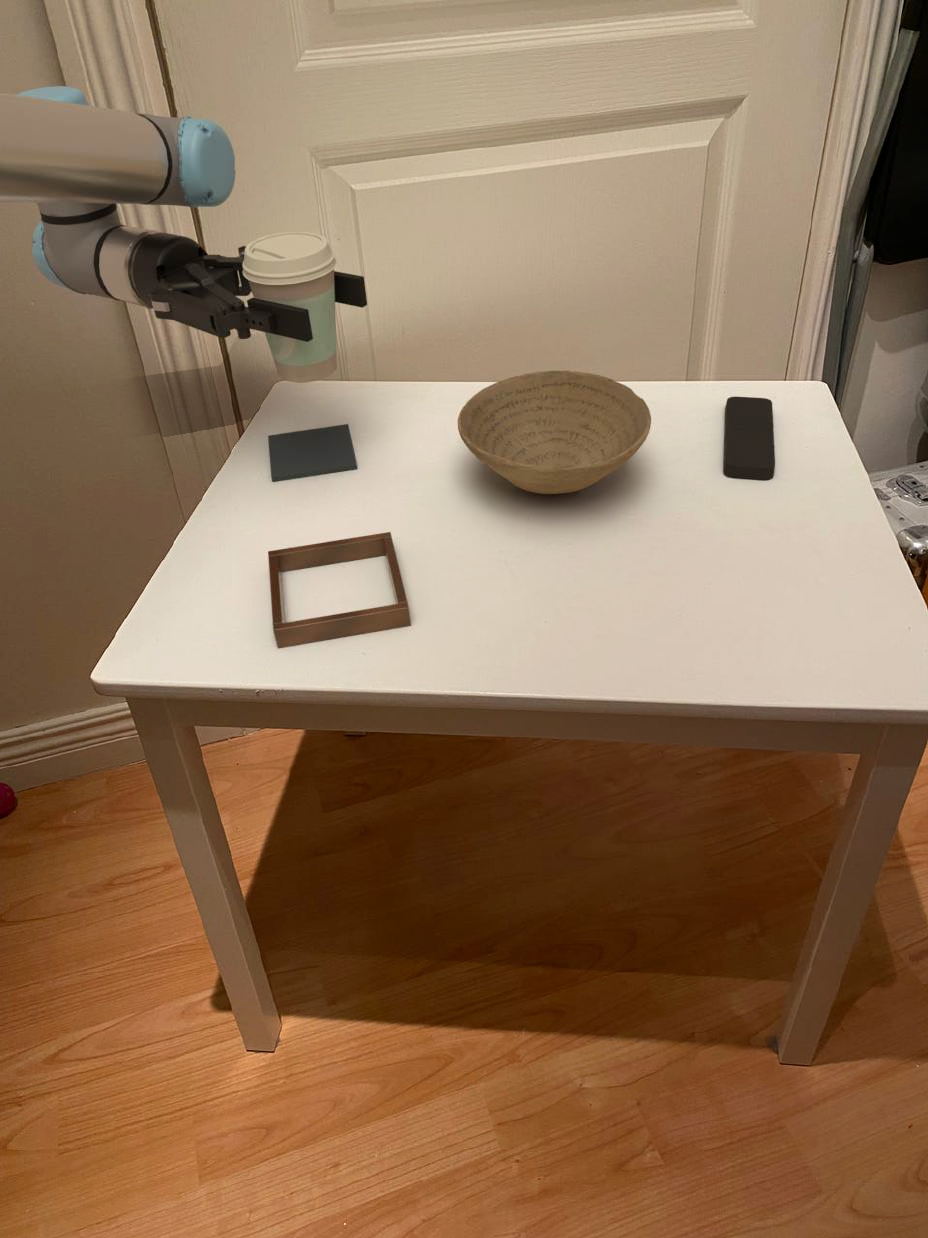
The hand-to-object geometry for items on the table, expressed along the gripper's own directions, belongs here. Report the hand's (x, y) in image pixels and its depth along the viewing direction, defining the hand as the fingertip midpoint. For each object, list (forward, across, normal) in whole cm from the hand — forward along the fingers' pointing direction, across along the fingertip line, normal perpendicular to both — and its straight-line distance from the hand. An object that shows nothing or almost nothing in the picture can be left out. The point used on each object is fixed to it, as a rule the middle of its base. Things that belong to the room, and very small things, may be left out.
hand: (336, 308), depth 85 cm
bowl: (+18, -8, -19) cm, 27 cm away
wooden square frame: (+10, +16, -18) cm, 26 cm away
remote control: (+33, -25, -19) cm, 45 cm away
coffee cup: (-5, 0, -7) cm, 9 cm away
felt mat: (-8, -2, -18) cm, 20 cm away
